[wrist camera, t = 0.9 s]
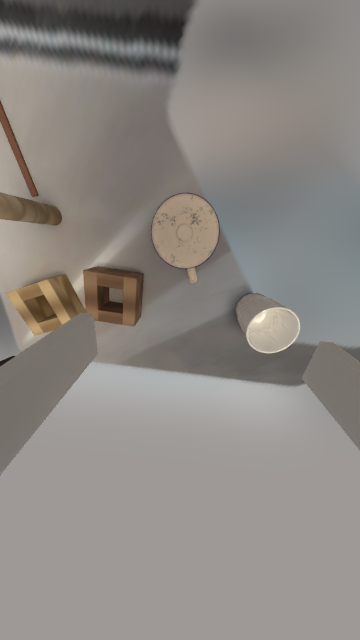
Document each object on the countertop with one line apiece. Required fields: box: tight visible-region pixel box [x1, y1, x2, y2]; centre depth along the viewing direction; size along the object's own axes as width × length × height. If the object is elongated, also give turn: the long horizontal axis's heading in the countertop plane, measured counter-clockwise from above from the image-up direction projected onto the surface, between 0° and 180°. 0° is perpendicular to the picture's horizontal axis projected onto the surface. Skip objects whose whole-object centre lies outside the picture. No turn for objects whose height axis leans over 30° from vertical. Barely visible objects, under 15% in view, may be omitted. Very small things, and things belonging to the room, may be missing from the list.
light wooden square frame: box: [6, 274, 86, 335], centre depth 36 cm, size 9×9×5 cm
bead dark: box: [83, 266, 144, 326], centre depth 34 cm, size 9×9×5 cm
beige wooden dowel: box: [0, 193, 61, 225], centre depth 24 cm, size 3×3×16 cm
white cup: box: [235, 293, 300, 353], centre depth 32 cm, size 8×8×10 cm
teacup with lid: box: [151, 193, 220, 284], centre depth 27 cm, size 12×9×12 cm
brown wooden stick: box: [0, 102, 38, 197], centre depth 27 cm, size 14×1×1 cm, turn 10°
